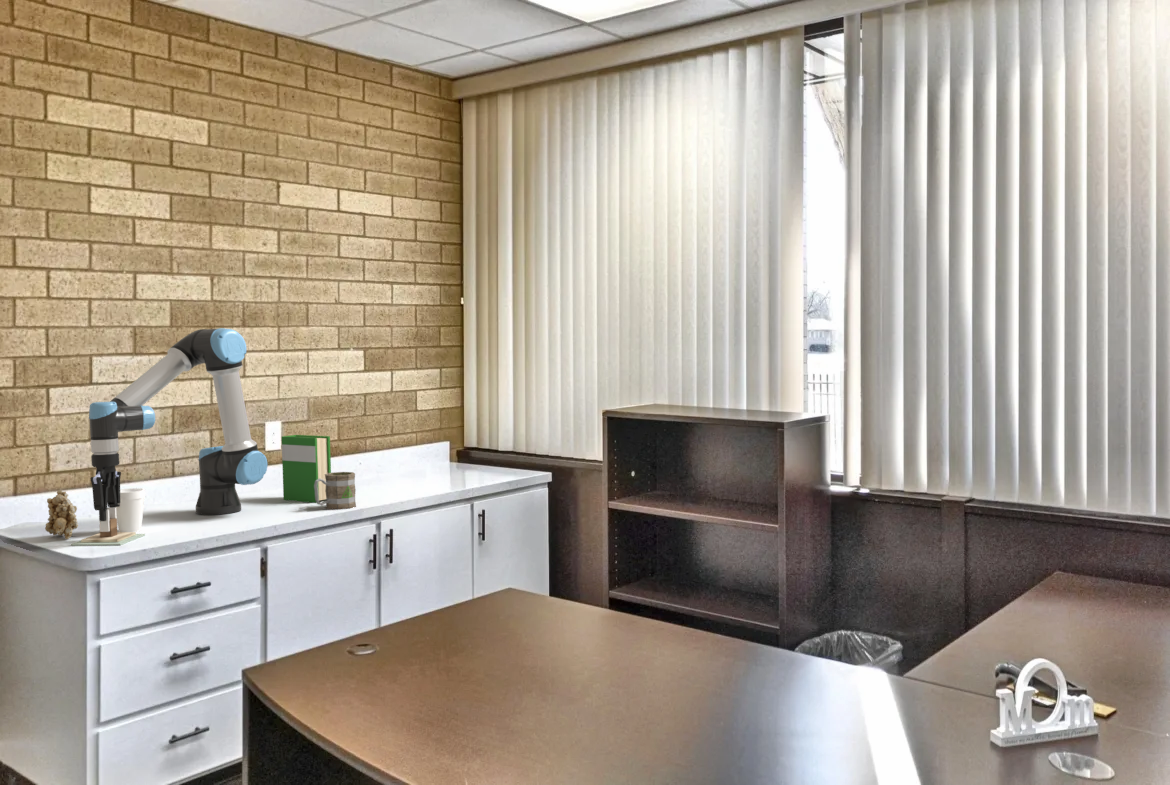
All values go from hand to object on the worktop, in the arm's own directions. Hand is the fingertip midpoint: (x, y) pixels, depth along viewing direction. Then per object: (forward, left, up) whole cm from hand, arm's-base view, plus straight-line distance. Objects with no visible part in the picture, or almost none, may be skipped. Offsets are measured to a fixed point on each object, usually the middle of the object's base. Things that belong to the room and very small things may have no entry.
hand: (108, 529), depth 298 cm
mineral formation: (+17, -5, -3) cm, 18 cm away
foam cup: (+1, -15, -3) cm, 15 cm away
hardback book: (-37, -74, -3) cm, 83 cm away
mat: (0, 0, -3) cm, 3 cm away
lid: (0, 0, -3) cm, 3 cm away
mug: (-53, -55, -3) cm, 76 cm away
